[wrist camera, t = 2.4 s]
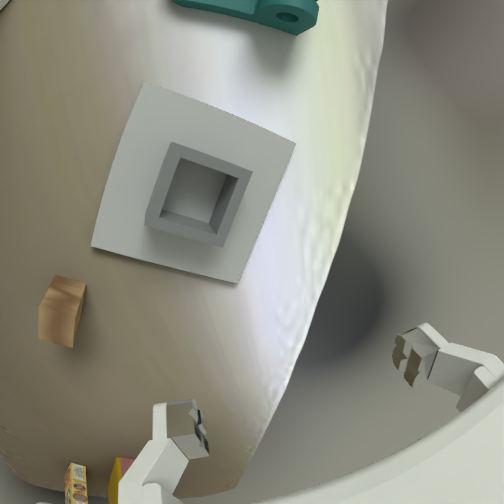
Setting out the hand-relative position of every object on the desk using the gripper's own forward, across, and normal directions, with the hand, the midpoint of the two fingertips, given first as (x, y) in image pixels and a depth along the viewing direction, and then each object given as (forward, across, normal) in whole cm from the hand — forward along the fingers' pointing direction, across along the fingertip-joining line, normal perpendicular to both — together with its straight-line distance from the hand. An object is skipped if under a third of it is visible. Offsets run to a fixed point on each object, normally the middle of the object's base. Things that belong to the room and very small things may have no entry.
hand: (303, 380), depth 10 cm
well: (+29, +3, -2) cm, 29 cm away
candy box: (+23, +50, +52) cm, 76 cm away
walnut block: (+26, +23, +7) cm, 35 cm away
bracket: (+30, -7, -26) cm, 41 cm away
